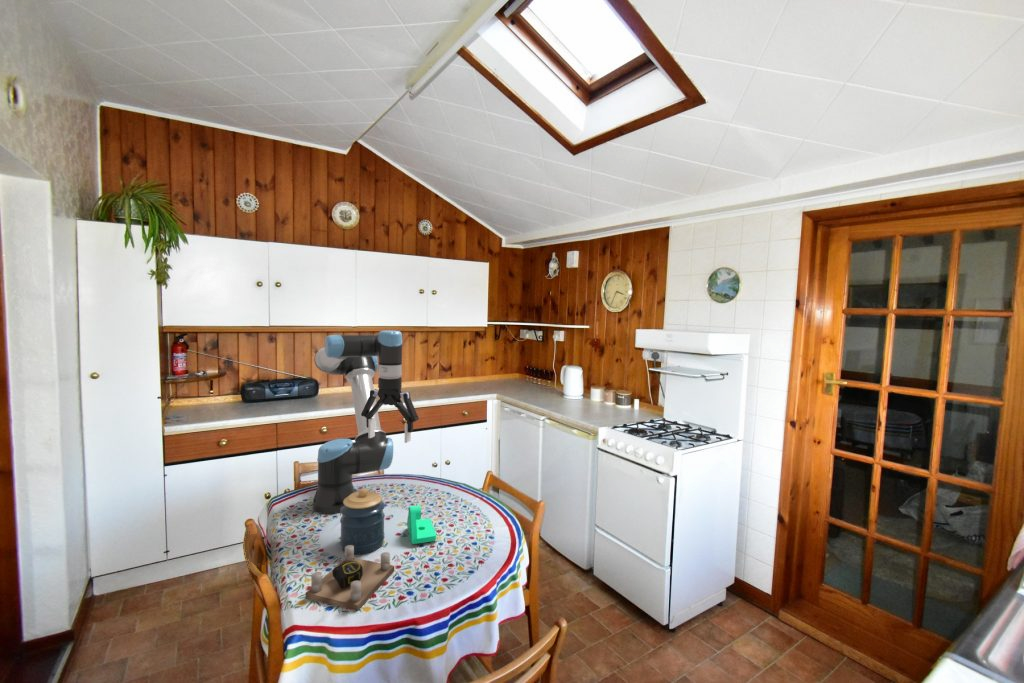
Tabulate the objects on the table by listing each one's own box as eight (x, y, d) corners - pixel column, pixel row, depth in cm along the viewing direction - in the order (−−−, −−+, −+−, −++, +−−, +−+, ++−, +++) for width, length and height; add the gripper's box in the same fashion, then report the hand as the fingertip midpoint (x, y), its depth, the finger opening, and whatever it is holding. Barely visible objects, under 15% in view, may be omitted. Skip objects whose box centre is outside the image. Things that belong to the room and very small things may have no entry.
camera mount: (436, 543, 138) (437, 512, 137) (412, 547, 136) (412, 515, 135) (430, 525, 149) (430, 496, 149) (407, 528, 147) (407, 499, 146)
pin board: (305, 598, 110) (305, 577, 110) (347, 561, 127) (347, 543, 126) (357, 611, 107) (357, 589, 106) (394, 571, 123) (394, 552, 123)
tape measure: (331, 579, 116) (331, 565, 116) (357, 570, 120) (357, 557, 120) (339, 592, 111) (339, 578, 111) (366, 583, 115) (366, 569, 115)
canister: (372, 529, 146) (372, 477, 144) (392, 544, 136) (392, 489, 135) (333, 542, 136) (333, 487, 135) (351, 560, 127) (351, 501, 126)
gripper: (350, 375, 147) (350, 438, 148) (418, 381, 140) (417, 446, 142) (363, 372, 154) (363, 432, 155) (429, 378, 147) (428, 440, 149)
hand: (389, 439), depth 149 cm, fingers open, 13 cm apart
